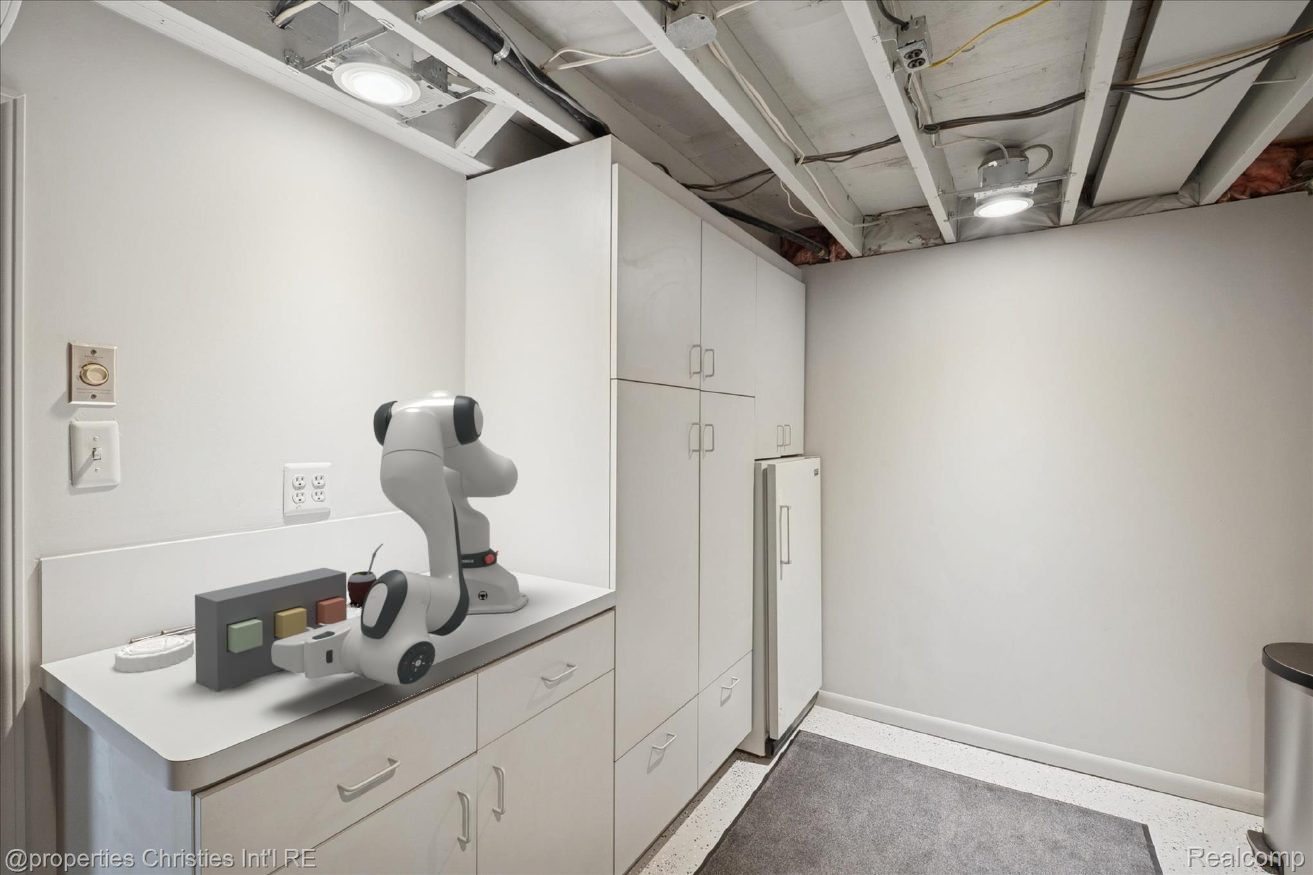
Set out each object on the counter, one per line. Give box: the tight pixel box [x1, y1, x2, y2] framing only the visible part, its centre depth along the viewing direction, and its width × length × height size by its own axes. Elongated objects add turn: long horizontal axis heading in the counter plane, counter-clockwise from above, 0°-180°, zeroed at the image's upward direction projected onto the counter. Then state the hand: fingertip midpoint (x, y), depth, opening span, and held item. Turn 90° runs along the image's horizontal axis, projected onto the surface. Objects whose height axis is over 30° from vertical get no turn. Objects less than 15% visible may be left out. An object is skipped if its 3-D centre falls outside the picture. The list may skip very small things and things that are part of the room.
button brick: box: [316, 597, 346, 624], centre depth 122 cm, size 3×4×4 cm
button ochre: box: [274, 607, 307, 639], centre depth 115 cm, size 3×4×4 cm
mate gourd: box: [346, 543, 384, 609], centre depth 157 cm, size 8×8×15 cm
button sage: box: [227, 618, 263, 653], centre depth 108 cm, size 3×4×4 cm
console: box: [194, 567, 348, 693], centre depth 118 cm, size 8×24×16 cm, turn 150°
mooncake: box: [114, 634, 195, 674], centre depth 119 cm, size 12×12×4 cm
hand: (312, 629), depth 112 cm, fingers closed
